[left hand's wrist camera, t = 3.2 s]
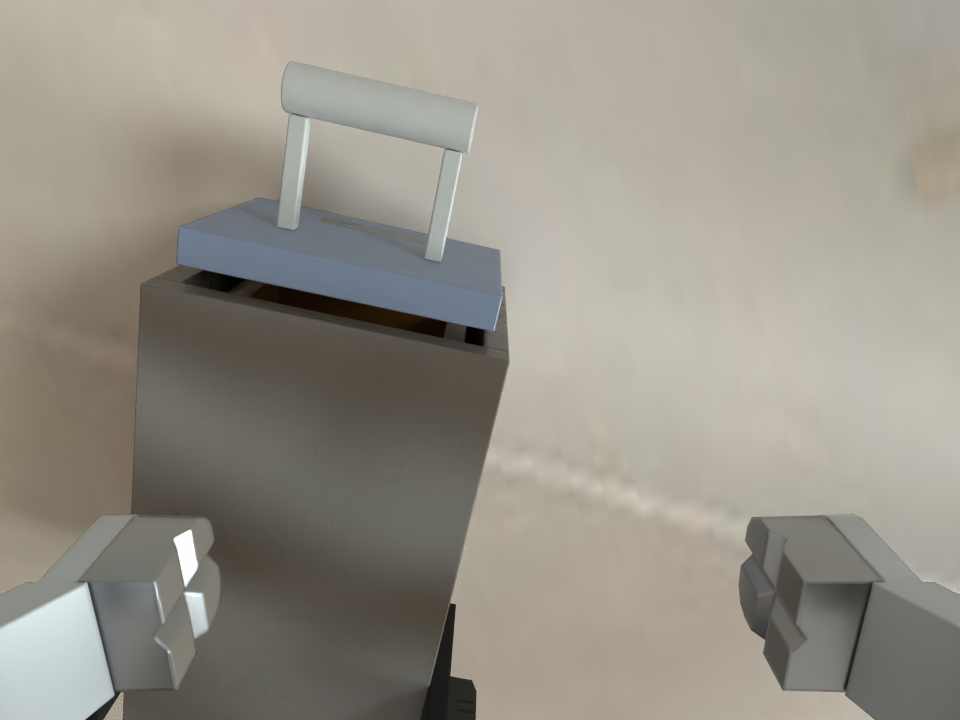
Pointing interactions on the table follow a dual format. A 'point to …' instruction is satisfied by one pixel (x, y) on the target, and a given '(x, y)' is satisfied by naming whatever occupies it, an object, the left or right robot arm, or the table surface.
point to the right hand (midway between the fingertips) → (307, 601)
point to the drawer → (356, 222)
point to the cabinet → (310, 494)
